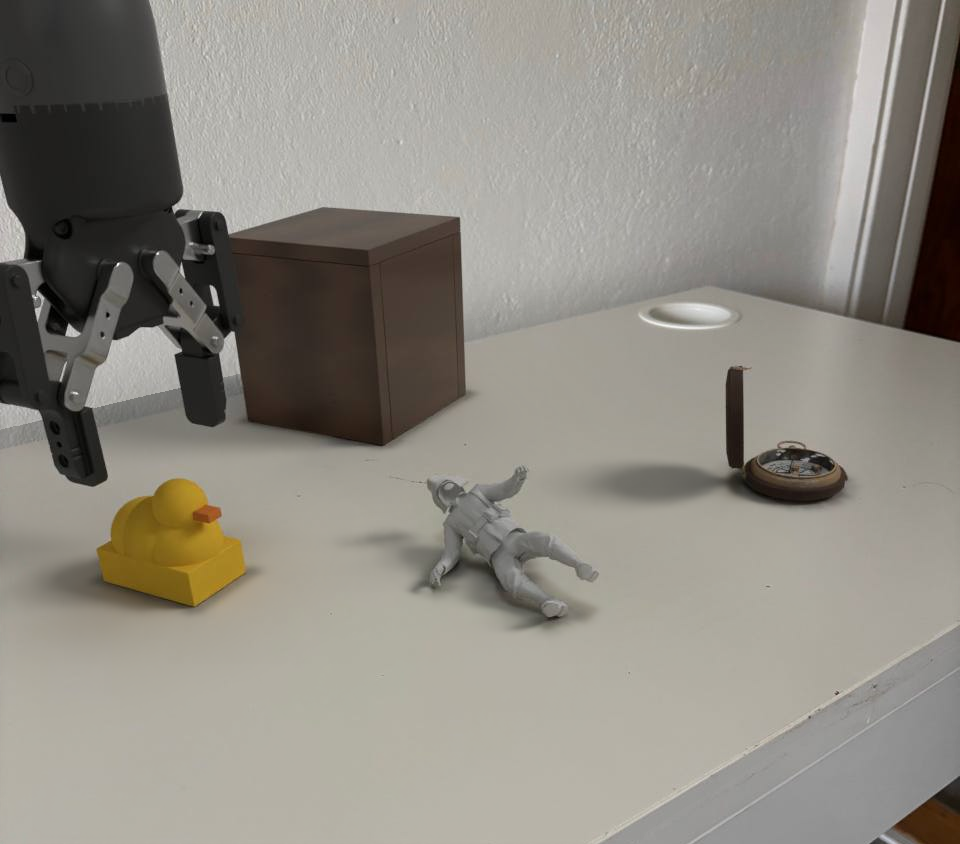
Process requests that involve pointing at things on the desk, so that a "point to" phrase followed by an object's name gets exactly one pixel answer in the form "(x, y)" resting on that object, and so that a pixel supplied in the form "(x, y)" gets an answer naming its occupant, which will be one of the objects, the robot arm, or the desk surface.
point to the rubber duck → (171, 546)
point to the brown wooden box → (350, 321)
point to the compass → (777, 457)
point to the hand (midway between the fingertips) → (150, 451)
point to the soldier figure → (499, 537)
